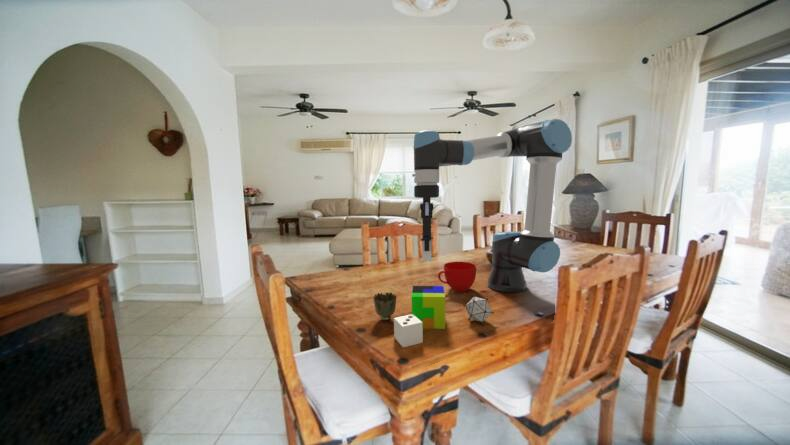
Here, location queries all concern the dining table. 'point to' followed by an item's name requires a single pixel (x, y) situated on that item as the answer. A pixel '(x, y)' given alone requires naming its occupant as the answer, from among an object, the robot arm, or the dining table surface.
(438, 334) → the dining table surface
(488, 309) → the game die
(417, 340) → the pip block
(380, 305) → the cup
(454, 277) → the ceramic cup
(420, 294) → the puzzle toy
